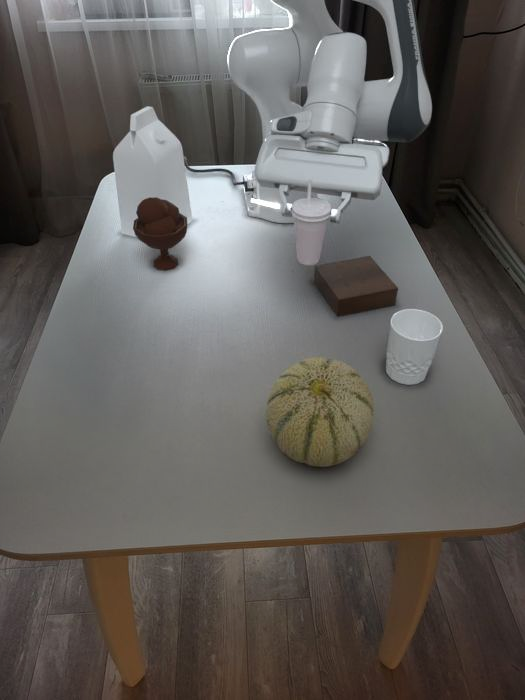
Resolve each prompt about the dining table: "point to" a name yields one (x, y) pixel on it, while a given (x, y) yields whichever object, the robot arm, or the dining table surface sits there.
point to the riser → (354, 285)
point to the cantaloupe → (320, 412)
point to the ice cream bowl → (160, 229)
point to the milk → (149, 168)
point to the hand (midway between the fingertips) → (310, 218)
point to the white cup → (412, 345)
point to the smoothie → (310, 226)
